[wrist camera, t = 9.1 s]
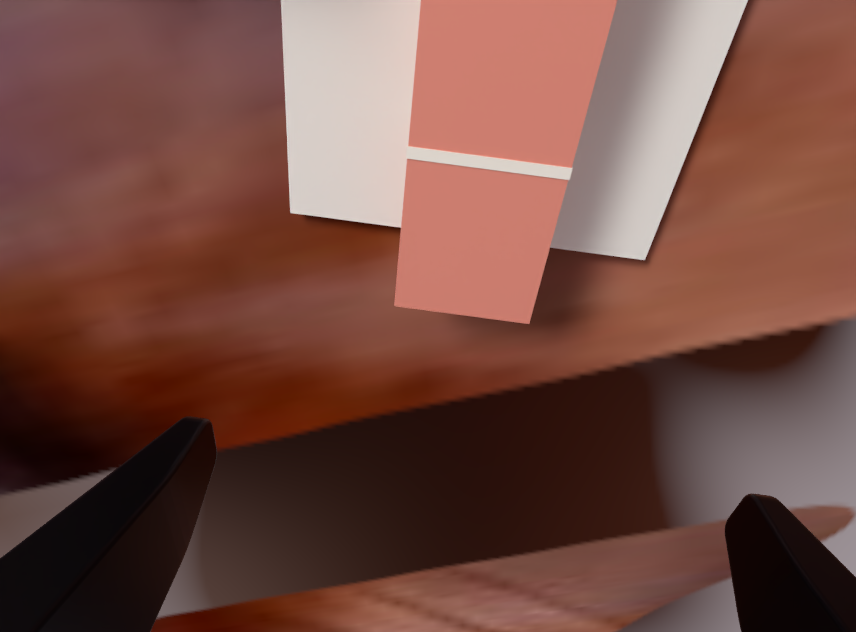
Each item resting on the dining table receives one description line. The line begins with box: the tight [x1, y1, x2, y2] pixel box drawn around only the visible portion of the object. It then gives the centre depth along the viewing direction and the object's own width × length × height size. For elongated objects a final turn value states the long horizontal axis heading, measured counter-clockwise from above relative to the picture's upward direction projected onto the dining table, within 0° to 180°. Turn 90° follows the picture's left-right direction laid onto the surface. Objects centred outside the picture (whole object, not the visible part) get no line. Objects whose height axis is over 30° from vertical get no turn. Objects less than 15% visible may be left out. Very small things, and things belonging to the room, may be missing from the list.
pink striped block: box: [394, 0, 617, 324], centre depth 14 cm, size 14×4×4 cm, turn 174°
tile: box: [281, 0, 748, 260], centre depth 16 cm, size 12×12×1 cm
